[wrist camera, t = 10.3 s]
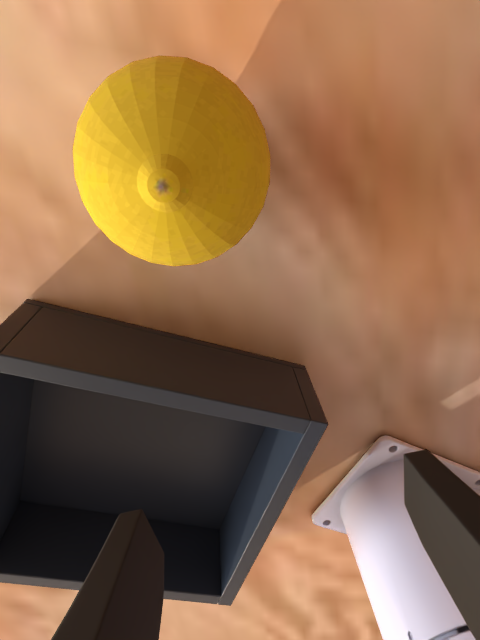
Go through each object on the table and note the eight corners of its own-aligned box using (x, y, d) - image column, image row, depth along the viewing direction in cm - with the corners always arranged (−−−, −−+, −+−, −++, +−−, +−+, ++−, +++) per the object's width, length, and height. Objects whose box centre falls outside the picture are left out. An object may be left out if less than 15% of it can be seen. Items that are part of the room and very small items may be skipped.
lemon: (126, 51, 13) (31, -36, 6) (274, 107, 14) (337, 86, 7) (101, 207, 16) (12, 274, 8) (231, 245, 17) (248, 331, 10)
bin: (305, 365, 20) (328, 424, 16) (227, 532, 25) (230, 606, 21) (27, 298, 17) (-27, 348, 13) (7, 501, 23) (-35, 579, 19)
